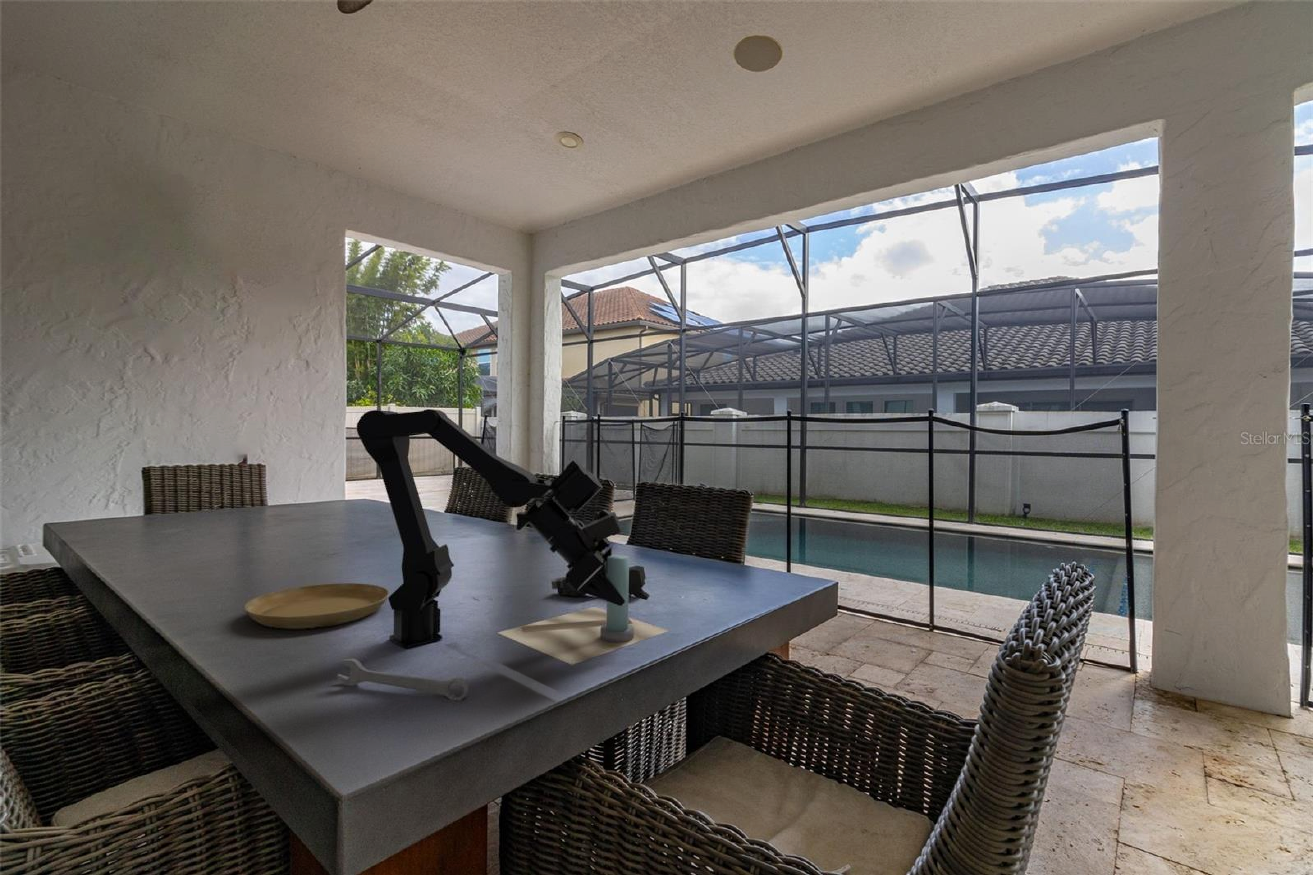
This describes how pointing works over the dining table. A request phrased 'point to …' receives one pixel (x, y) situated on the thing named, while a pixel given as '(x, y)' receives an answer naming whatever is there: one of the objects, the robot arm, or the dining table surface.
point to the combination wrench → (399, 680)
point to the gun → (634, 587)
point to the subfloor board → (576, 635)
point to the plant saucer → (316, 605)
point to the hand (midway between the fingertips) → (624, 596)
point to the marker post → (616, 614)
